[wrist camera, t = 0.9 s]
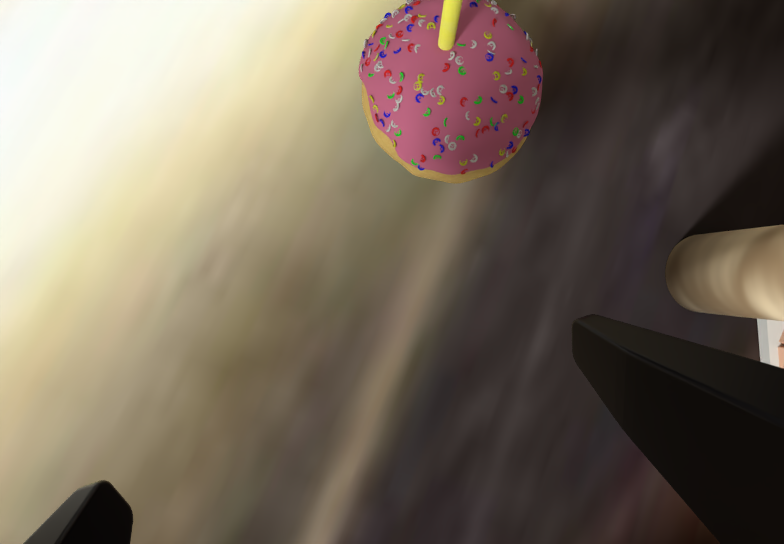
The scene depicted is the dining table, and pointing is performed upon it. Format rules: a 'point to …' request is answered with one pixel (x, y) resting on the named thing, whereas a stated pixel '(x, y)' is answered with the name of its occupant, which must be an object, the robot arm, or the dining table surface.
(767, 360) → the ring
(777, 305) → the pepper mill
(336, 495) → the dining table surface
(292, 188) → the dining table surface
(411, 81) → the cupcake
